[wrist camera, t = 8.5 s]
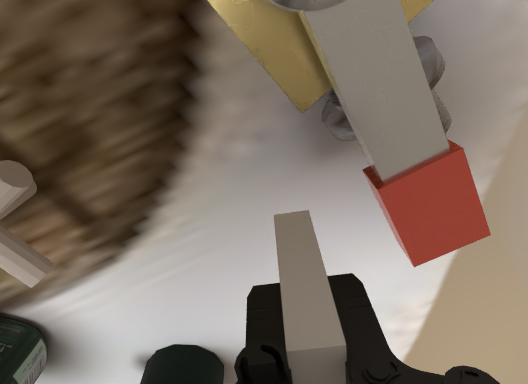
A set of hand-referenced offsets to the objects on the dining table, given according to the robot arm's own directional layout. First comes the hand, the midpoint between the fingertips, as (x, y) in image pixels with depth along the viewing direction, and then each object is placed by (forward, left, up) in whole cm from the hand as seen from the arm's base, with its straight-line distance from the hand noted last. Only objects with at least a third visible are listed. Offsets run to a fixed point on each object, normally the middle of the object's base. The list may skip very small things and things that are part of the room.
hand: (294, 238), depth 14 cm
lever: (-5, +5, 0) cm, 7 cm away
